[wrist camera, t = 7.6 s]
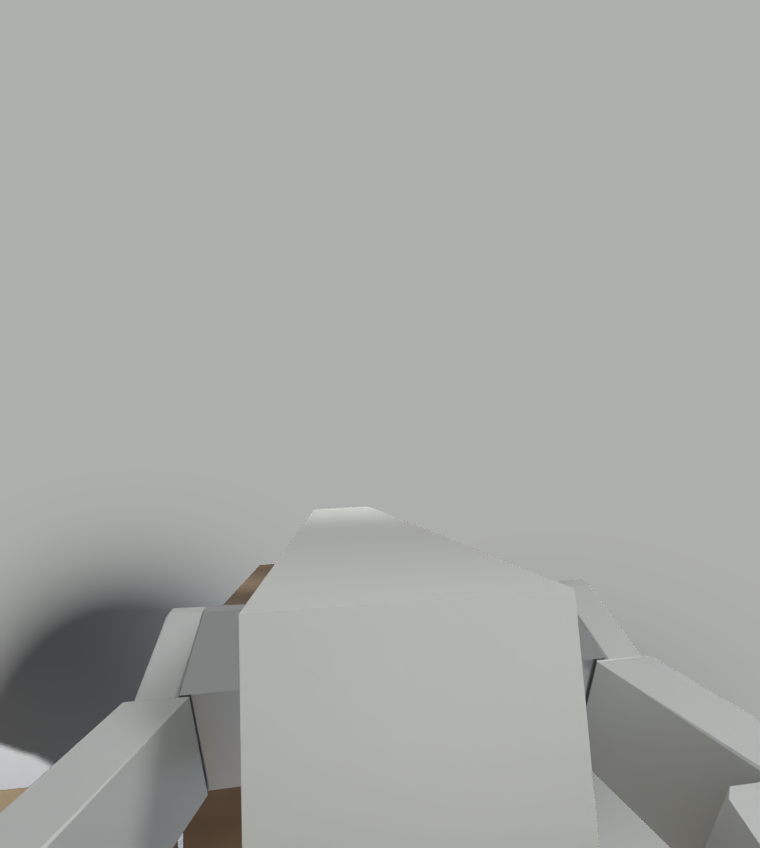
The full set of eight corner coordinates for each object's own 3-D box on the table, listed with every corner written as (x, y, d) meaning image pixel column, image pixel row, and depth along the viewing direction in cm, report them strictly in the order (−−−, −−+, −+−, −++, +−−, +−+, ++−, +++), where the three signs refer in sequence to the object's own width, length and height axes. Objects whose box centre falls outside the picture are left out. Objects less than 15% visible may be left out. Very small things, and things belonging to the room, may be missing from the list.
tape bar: (604, 901, 5) (574, 589, 5) (242, 953, 5) (238, 614, 5) (370, 553, 33) (368, 506, 33) (315, 557, 32) (314, 509, 33)
